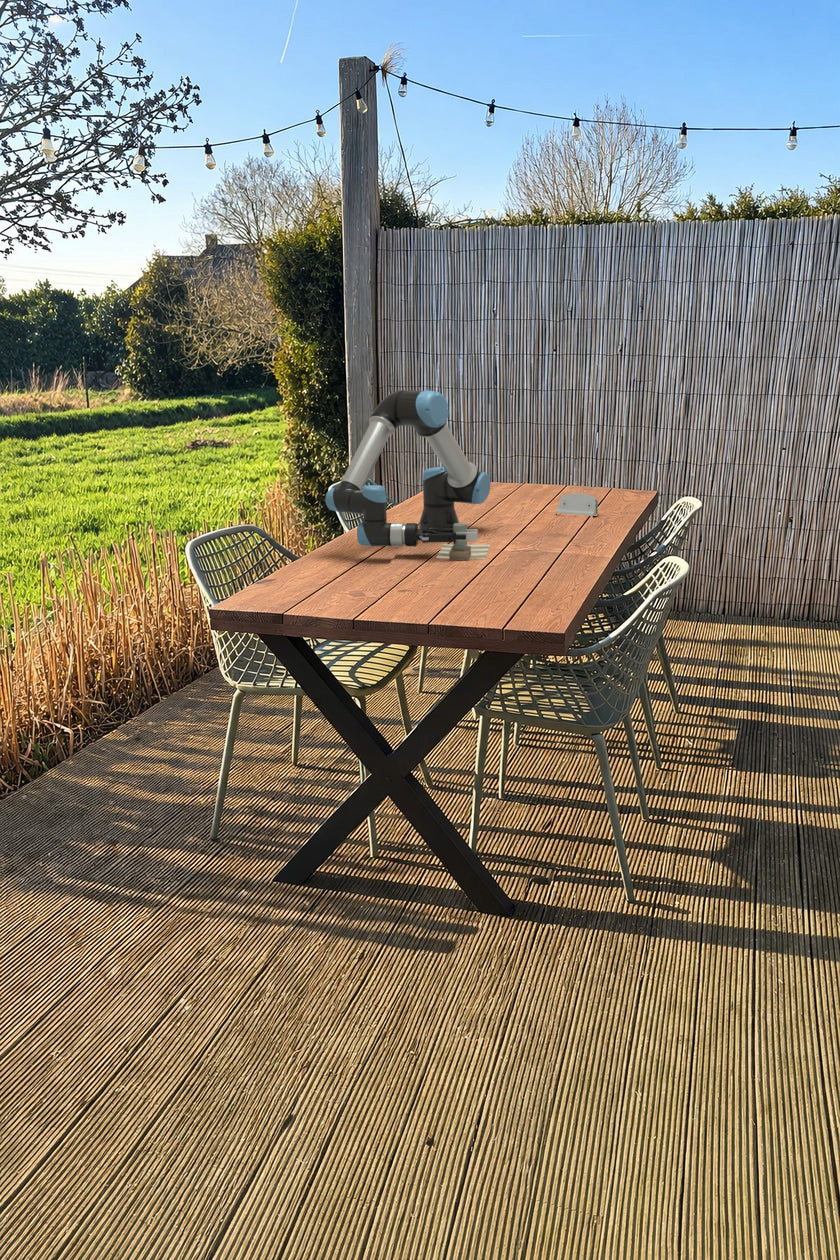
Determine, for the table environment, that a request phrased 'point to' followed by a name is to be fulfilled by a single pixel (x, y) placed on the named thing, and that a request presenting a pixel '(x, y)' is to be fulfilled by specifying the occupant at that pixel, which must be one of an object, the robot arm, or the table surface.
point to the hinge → (578, 504)
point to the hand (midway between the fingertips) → (477, 535)
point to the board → (476, 551)
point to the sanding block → (460, 545)
